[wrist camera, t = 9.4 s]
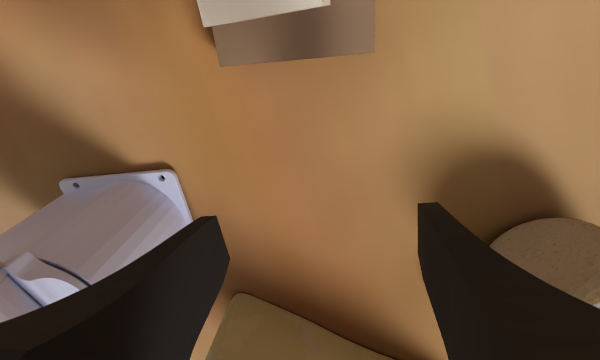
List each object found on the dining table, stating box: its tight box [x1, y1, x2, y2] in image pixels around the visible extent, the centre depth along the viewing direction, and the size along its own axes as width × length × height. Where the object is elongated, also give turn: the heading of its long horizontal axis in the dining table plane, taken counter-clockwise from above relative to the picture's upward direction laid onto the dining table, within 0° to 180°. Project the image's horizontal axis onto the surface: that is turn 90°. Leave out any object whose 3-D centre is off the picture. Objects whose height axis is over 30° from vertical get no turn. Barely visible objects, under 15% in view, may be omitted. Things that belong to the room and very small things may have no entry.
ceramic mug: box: [489, 218, 600, 308], centre depth 20 cm, size 11×8×8 cm
